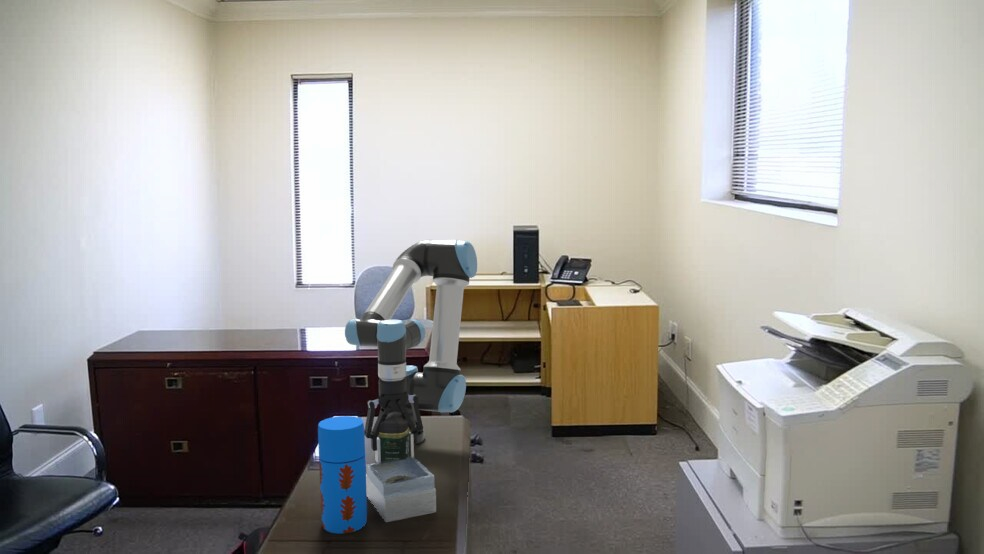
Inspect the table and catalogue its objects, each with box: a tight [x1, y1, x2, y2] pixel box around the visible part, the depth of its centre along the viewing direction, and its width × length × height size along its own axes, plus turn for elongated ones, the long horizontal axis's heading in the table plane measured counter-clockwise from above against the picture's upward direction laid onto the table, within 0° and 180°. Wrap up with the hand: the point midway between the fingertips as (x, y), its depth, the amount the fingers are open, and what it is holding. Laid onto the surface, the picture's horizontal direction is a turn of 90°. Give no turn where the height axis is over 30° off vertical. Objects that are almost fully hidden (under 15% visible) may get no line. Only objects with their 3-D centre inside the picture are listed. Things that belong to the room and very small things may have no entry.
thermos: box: [317, 415, 368, 534], centre depth 182 cm, size 11×11×25 cm
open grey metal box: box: [366, 456, 437, 523], centre depth 193 cm, size 13×17×9 cm
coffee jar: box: [379, 413, 410, 462], centre depth 208 cm, size 10×8×19 cm
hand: (394, 458), depth 208 cm, fingers closed on coffee jar, 9 cm apart
